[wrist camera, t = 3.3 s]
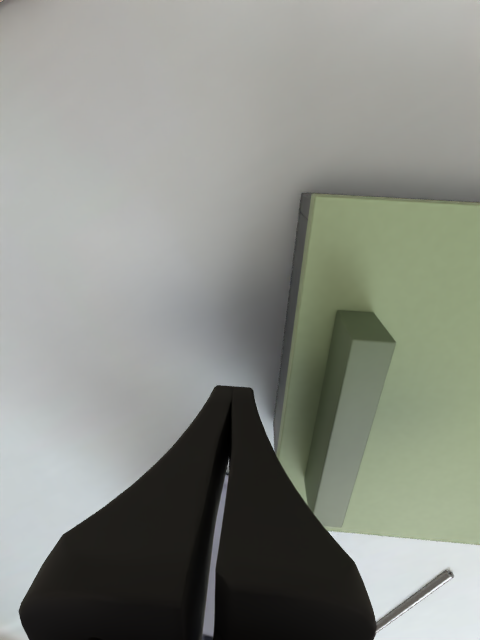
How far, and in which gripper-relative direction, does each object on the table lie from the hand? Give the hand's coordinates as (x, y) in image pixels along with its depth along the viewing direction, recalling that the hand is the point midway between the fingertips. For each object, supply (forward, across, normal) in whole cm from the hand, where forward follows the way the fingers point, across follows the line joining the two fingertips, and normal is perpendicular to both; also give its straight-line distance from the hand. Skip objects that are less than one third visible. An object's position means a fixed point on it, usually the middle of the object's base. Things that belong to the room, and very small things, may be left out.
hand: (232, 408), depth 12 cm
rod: (+8, -15, +30) cm, 35 cm away
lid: (+1, -8, 0) cm, 8 cm away
